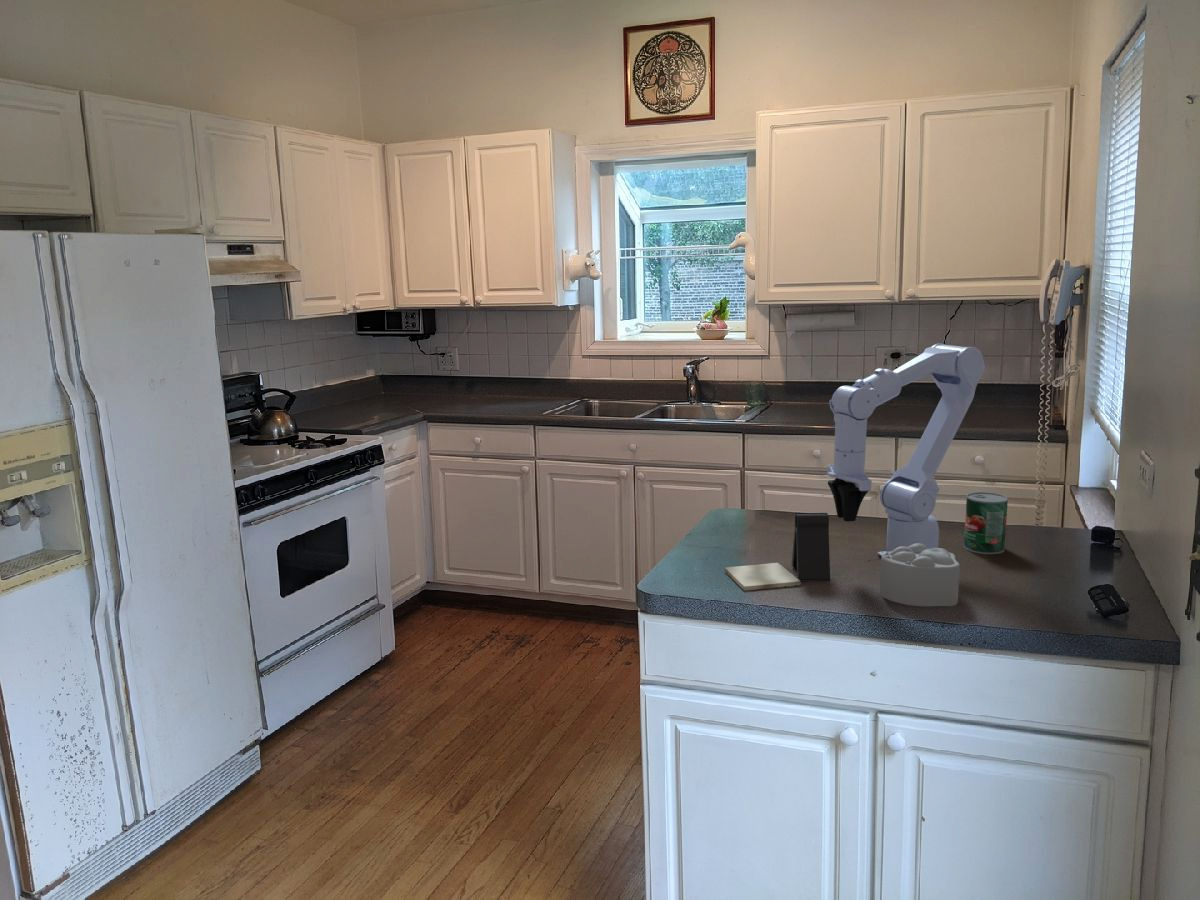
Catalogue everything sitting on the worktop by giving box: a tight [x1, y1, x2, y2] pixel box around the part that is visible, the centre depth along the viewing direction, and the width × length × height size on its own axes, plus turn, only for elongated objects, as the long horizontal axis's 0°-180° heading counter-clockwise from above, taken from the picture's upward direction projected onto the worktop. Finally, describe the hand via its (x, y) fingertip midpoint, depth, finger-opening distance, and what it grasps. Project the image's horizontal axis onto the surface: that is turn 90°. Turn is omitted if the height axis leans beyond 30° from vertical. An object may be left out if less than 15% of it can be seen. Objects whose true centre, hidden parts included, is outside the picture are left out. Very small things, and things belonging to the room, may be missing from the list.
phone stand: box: [791, 512, 831, 582], centre depth 180 cm, size 9×6×12 cm, turn 176°
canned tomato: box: [963, 491, 1009, 555], centre depth 192 cm, size 8×8×11 cm
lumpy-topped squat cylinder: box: [879, 543, 961, 608], centre depth 167 cm, size 10×13×9 cm
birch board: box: [724, 562, 801, 592], centre depth 179 cm, size 11×11×1 cm
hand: (846, 518), depth 180 cm, fingers open, 2 cm apart
